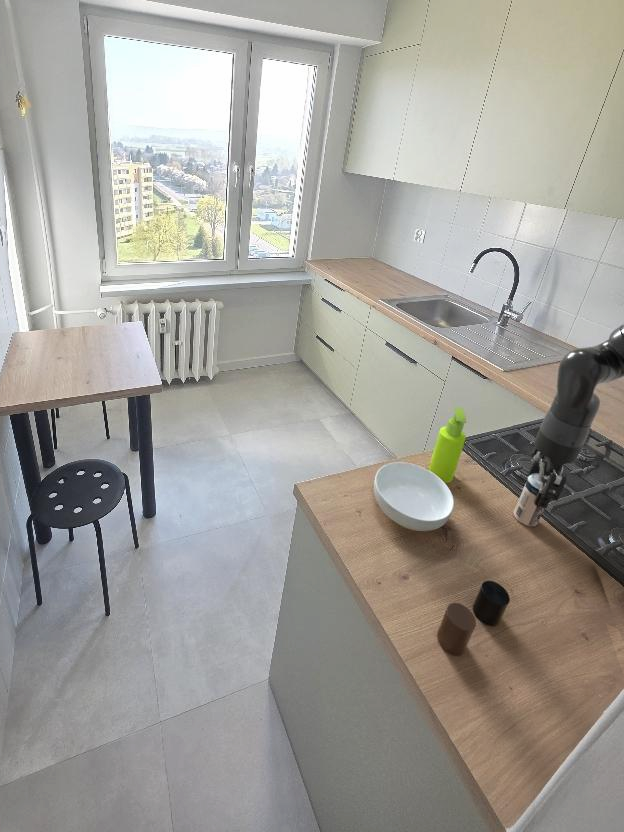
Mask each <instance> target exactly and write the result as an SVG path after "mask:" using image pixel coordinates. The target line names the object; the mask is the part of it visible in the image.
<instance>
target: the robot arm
mask: <svg viewBox="0 0 624 832" xmlns="http://www.w3.org/2000/svg"><path fill="white" fill-rule="evenodd" d="M621 378H624V323H623V324H621V325H619V326H618V327H617V328H615V329H614V330H613V331H611V333H610V334H609V337H608V339H607V340H605V341H603V342H600V343H598V344H597V345H593V346H592V345H591V346H587V347H586V346H585V347H579V348H575V349H572V350H570V351H568V352H567V353H566V354H564V356H563V357H562V359H561V361H560V363H559V365H558V369H557V380H556V394H555V395H554V397H553V400H552V402H551V404H550V407H549V409H548V411H547V412H546V414H545V415H544V418H543V420H542V422H541V425H540V427H539V429H538V431H537V433H536V436H535V439H534V440H533V441H534V443H533V448H532V451H531V453H530V457H531V458H532V459H531V466H530V468H529V471H528V473H527V475H526V476H527V478H528V477H529V476H530V475H532V474H534V473H538V474H539V477H538V480H539V481H540V482H541V483H540V489H539V492H538V494H537V496H536V498H535V500H534V504H535V505H536V506H538V507H541V508H544V509H547V508H548V506H549V504H550V501H555V502H558V500H559V498H560V496H561V494H562V491H563V489H564V487H565V485H566V483H567V477H566V476H565V475H562V473H563V472H564V465H566V464H572V463H575V462H576V461H577V459H578V457H579V455H580V453H581V451H582V449H583V447H584V445H585V443H586V441H587V438H588V437H589V434H590V431H591V427H592V424H593V422H594V421H595V418H596V416H597V414H598V412H599V409H600V406H601V400H600V398H599V396H598V395H597V394H596V393H595V389H596V387H597V386H598V385H599V384H603V383H610V382H613V381H617V380H619V379H621ZM544 476H546V477H548V479H545V478H544ZM545 483H546V485H545Z"/></svg>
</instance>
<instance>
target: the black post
mask: <svg viewBox="0 0 624 832" xmlns="http://www.w3.org/2000/svg"><path fill="white" fill-rule="evenodd" d="M510 601H511V599H510V595H509V593H508V591H507V590H506V589H505V588H504V586H503V585H501V584H500V583H498V582H496V581H493V580H484V581H483V582H482V583H481V586H480V588H479V590H478V593H477V596H476V597H475V599H474V602H473V604H472V611H473V615H474V616H475V618H477V619H478V621H480V622H481V623H482V624H483V625H486V626H488V627H497V626H499V625H500V622H501V621H502V619H503V616H504V614H505V612H506V610H507V608H508V606H509V604H510Z"/></svg>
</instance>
